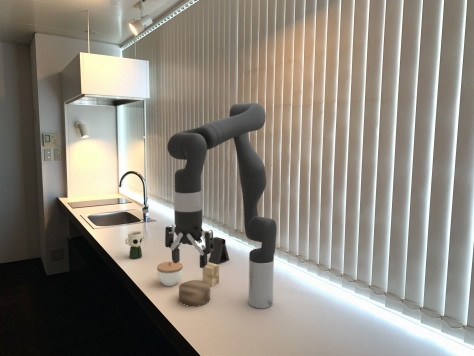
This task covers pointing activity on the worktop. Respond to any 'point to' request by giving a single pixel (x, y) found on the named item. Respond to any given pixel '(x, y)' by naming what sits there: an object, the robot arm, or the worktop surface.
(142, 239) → the character mug
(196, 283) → the walnut plinth
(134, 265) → the worktop surface
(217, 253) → the phone stand
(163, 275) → the lidded jar
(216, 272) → the oak block
